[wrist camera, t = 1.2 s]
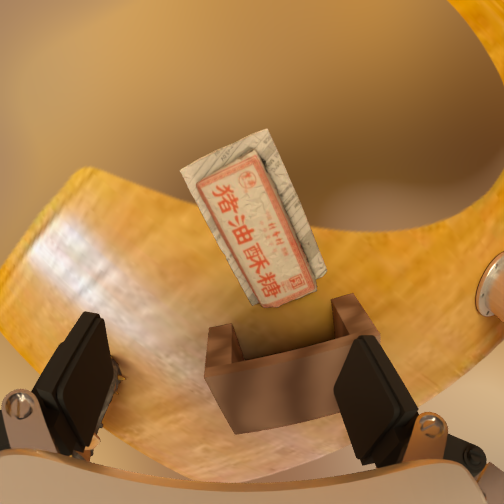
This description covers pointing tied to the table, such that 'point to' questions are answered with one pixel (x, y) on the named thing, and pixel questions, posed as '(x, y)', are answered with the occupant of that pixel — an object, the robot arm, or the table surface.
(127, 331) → the table surface
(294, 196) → the packaged product
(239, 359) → the walnut shelf
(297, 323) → the table surface
